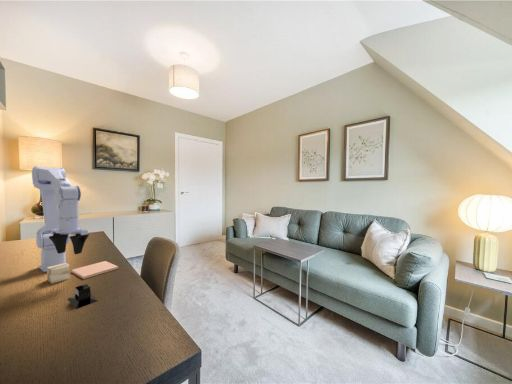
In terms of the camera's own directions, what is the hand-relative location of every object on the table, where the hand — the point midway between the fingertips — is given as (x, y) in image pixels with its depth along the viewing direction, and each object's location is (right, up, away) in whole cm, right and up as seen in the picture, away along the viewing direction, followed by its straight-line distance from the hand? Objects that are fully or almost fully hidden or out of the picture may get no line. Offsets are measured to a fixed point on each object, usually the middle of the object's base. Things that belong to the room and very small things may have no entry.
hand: (69, 253), depth 78 cm
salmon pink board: (+4, -10, +8) cm, 13 cm away
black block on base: (+17, -11, -14) cm, 25 cm away
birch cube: (-4, -10, -1) cm, 11 cm away
